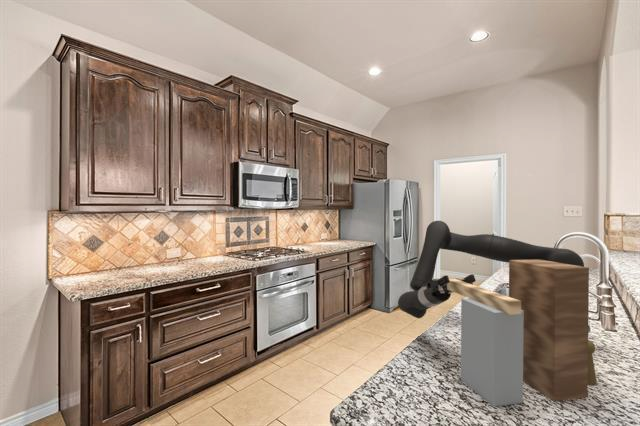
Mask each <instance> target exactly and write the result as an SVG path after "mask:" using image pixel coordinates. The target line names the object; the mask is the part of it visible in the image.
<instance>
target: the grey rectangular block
mask: <svg viewBox="0 0 640 426" xmlns="http://www.w3.org/2000/svg"><path fill="white" fill-rule="evenodd" d="M460 301H461V307H460V309H461V310H460V311H461V313H460V316H461V317H460V318H461V319H460V320H461V321H460V381H462V382H463V383H464V384H465V385H467V386H468V387H469V388H470V389H471V390H472V391H474V392H475V393H476V394H478V395H479V396H480V397H481V398H483V399H484V400H485V401H486V402H487V403H488V404H490V405H492V407H493V408H494V407H495V408H496V407H501V406H502V407H503V406H509V405H517V404H522V403H523V402H524V394H523V393H524V382H523V325H524V311H523V310H521V314H512V315H510V314H507V313H505V312H502V311H500V310H497V309H495V308H492V307H490V306H487V305H485V304H482V303H480V302H477V301H475V300H472V299H470V298H467V297H465V298H461V300H460Z"/></svg>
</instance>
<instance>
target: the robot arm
mask: <svg viewBox="0 0 640 426" xmlns="http://www.w3.org/2000/svg"><path fill="white" fill-rule="evenodd" d="M423 241H424V242H423V245H422V250H421V252H420V256H419V259H418V263H417V264H416V268H415V270H414V273H413V275H412V278H411V280H410V284H409V285H410V288H411V291H406V292H404V293H402V294H401V295H400V296H399V298H398V300H397V306H398V308H399V309H400V311H402V312H404V313H406V314H408V315H409V316H412V317H414V318H416V319H422V318H423V317H424V316H425V315H426V313H427V311H428V309H431V308H433V307H436V306H438V305H441V304H443V303H445V302H447V301H449V299H450V298H451V294H454V293H455V292H453V291H450V290H448V289H447V284H448V283H449V282H450V281H449V279H450V277H449V275H446V274H445V275H443V276H441V277H440V278H434V274H435V270H436V265H437V259H438V255H439V252H440V250H448V251H455V252H460V253H465V254H469V255H472V256H476V257H481V258H484V259H489V260H493V261H496V262H502V263H508V264H509V260H531V259H540V260H546V261H552V262H558V263H564V264H570V265H576V266H582V267H585V262H584V260H583V258H582V257H581V256H580V255H579V254H578V253H576V252H575V251H573V250H572V249H567V248H558V247H549V246H542V245H541V246H540V245H535V244H531V243H527V242H525V241H521V240H517V239H513V238H509V237H504V236H500V235H495V234H490V233H489V234H484V233H483V234H481V233H480V234H474V235H465V234H459V233H455V232H452V231H451V230H450V228H449V225H448V224H447V223H446V222H444V221H442V220H433V221H432V222H431V223H429V224H428V226H427V227H426V231H425V236H424V240H423ZM433 278H434V279H433ZM456 279H457V280H460V281H463V282H466V283H469V284H472V285H474V283H475V282H476V277H475V275H474V274H469V275H467V276H465V277H463V278H456Z"/></svg>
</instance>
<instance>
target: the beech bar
mask: <svg viewBox="0 0 640 426" xmlns="http://www.w3.org/2000/svg"><path fill="white" fill-rule="evenodd" d="M449 281H450V282H449V283H448V284H447V289H448V290H450V291H453V292H454V293H455V294H458V295H460V296H463V297H464V298H470V299H472V300H475V301H477V302H480V303H482V304H485V305H487V306H490V307H492V308H495V309H497V310H500V311H502V312H505V313H507V314H510V315H512V314H521V301H520V300H517V299H514V298H511V297H509V295H508V296H507V295H505V294H502V293H498V292H495V291H492V290H489V289H487V288H483V287H481V286H477V285H474V284H473V285H472V284H469V283H466V282H463V281H460V280H457V278H453V279H452V278H451V279H450V278H449Z"/></svg>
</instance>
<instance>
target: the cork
mask: <svg viewBox="0 0 640 426" xmlns="http://www.w3.org/2000/svg"><path fill="white" fill-rule="evenodd" d="M595 352H596V346H595V344H594V342H593V341H592V340H590V339H588V386H596V385H598V382H597V376H596V370H595V363H594V362H595V361H594V356H593V354H594V353H595Z"/></svg>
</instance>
